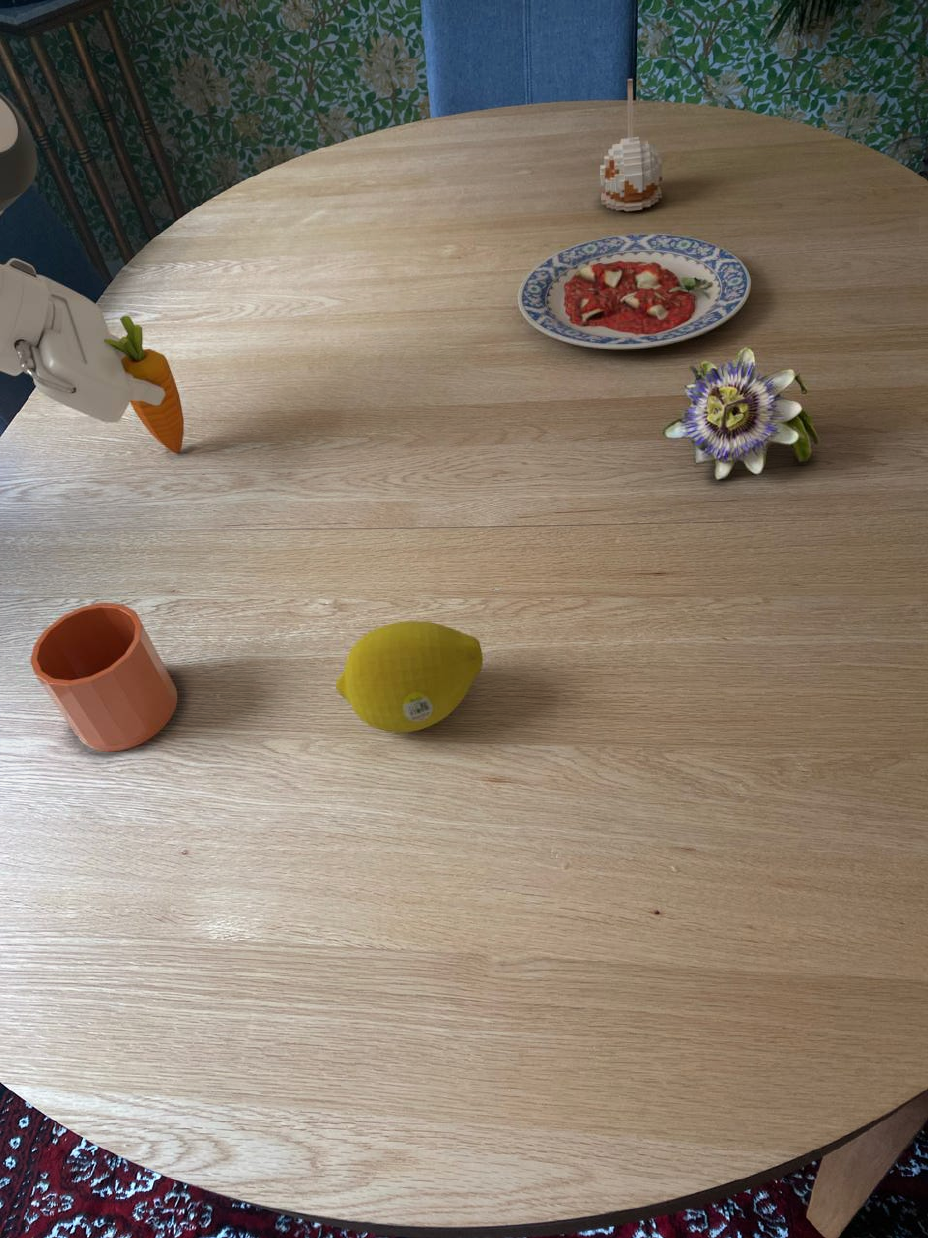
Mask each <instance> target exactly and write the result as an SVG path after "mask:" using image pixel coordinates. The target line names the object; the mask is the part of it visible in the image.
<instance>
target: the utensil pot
mask: <svg viewBox="0 0 928 1238" xmlns="http://www.w3.org/2000/svg"><path fill="white" fill-rule="evenodd" d="M30 656H31V657H30V665H31V667H32V671H33V673H34V676H35V677H36V678H37V680H38V681H39V683H40V684H41V686H42V687H43V689H44V690H45V691H46V693H47V695H48V696H49V698H50V699H51V701H52V702H53V703H54V705H55V706H56V708H57V709H58V711H59V712H60V713H61V715H62V717H63V719H64V720H65V721H66V723H67V724H68V725H69V727H70V728H71V730H72V731H73V733H74V735H75V736H76V737H78V739H79V740H80V742H81V743H83V744H84V746H87V747H89V748H90V749H92V750H95V751H99V752H107V753H109V752H121V751H124V750H125V751H126V750H128V749H132V748H135V747H137V746H139V745H141V744H143V743H145V742H147V741H149V740H151V739H152V738H153V737H154V736H156V735H157V734H158V733H160V732H161V731H162V730H163V729H164V728H165V727H166V725H168V723H169V721H170V720H171V718H172V717H173V715H174V713H175V711H176V707H177V704H178V690H177V688H176V685H175V683H174V682H173V680H172V678H171V676H170V674H169V672H168V670H167V668H166V667H165V664H164V663H163V661H162V659H161V656H160V654H159V653H158V651H157V649H156V647H155V646H154V644H153V642H152V640H151V637H150V636H149V635H148V632H147V631H146V629H145V626H144V624H143V622H142V621H141V619H140V617H139V615H138V613H137V611H135V610H133V609H132V608H130V607H128V606H126V605H124V604H122V603H114V602H113V603H112V602H100V603H94V604H89V605H84V606H81V607H78V608H76V609H74V610H73V611H71V612H68V613H66V614H64V615H62V616H61V617H59V618H58V619H57V620H56V621H54V622H53V623H52V624H50V625H49V626H48V627H46V628H45V629H44V631H43V632H42V633H41V634H40V636H39V637H38V638H37V640H36V642H35V643H34V644H33V648H32V652H31V655H30Z"/></svg>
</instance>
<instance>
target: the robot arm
mask: <svg viewBox="0 0 928 1238" xmlns="http://www.w3.org/2000/svg"><path fill="white" fill-rule="evenodd" d="M37 169H38V153H37V147H36V143H35V140H34V137H33V134H32V132H31V129H30V128H29V126H28V124H27V122H26V121H25V119H24V118H23V116H22V115H21V113H20V111H19V110H18V109H17V108H16V106H15V105H14V104H13V103H12V101H11V100H10V99H9V98H8V97H7V96H6V95H4V94H3V93H2V92H1V91H0V216H1V215H2V214H3V213H4V211H5V210H6V209H8V208H9V207H10V206H11V205H12V204H14V202H15V201H16V200H17V199H18V198H19V197H21V196H22V195H23V194H24V193H25V192H26V191H27V190H28V189H29V188H30V187H31V185H32V184H33V181H34V180H35V177H36V174H37ZM105 339H111V340H115V341H117V342H119V343H120V344H122V343H121V341H120V339H121V338H120V337H119V336H116V335H114V334H112V333H111V332H110V330H109V327H108V323H107V322H106V319H105V317H104V314H103V311H102V309H101V307H100V306H98V304H96V303H95V302H93V301H92V300H90V299H89V298H88V297H87V296H85V295H83V294H80V293H78V292H77V291H75V290H74V289H71V288H69V287H67V286H66V285H63V284H62V283H59V282H58V281H55V280H53V279H51V278H49V277H47V276H45V275H41V274H37V271H36V269H35V268H34V266H33V265H32V264H30V263H28V262H26V261H23V260H21V259H19V258H15V257H12V258H10V259H9V260H8V261H7V262H6V263H5V264H2V263H0V372H2V373H5V374H7V375H10V376H13V377H17V376H19V375H20V374H22V373H24V374H25V375H29V376H30V377H31V378H32V379H33V384H34V385H35V387H36V389H37V390H38V391H39V392H40V393H42V394H43V395H44V396H46V397H48V398H49V399H51V400H53V401H55V402H57V403H59V404H61V405H63V406H65V407H68V408H71V409H72V410H75V411H76V412H80V413H82V414H84V415H87V416H89V417H91V418H94V419H96V420H99V421H101V422H105V423H118V422H120V421H121V420H122V417H124V416H123V415H124V414H125V411H126V410H127V408H128V406H129V404H130V401H144V402H147V403H149V404H152V405H155V406H158V405H159V404H161V402H162V400H163V398H164V396H165V391H164V389H163V387H162V385H161V384H160V383H158V382H154V381H153V380H150V379H148V378H146V380H145V381H144V380H140V379H136V378H133V376H132V375H131V374H128V373H126V372H125V371H124V368H123V366H122V363H121V360H122V358H124V357H125V356H127V355H125V354H124V353H123V352H121V351H120V350H118V349H116V348H115V347H113V346H112V345H110V344H107V343H106V342H105V341H104V340H105ZM122 345H123V344H122ZM123 346H124V345H123Z"/></svg>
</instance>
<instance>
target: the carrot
mask: <svg viewBox="0 0 928 1238" xmlns="http://www.w3.org/2000/svg"><path fill="white" fill-rule="evenodd" d="M119 320H120V322H121V324H122V326H123V328H124V330H125V332H126V335H125V336H121V338H120V341H121V343H122V344H123V345H124V346H123V345H122V344H120V343H119V342H117V341H115V340H111V339H105V340H104V341H105V342H106V343H107V344H110V345H112V346H113V347H115V348H116V349H118V350H120V351H121V352H123V353H124V354H125V355H127V356H125V357H124V358H122V360H121V363H122V366H123V368H124V371H125V372H126V373H128V374H131V375H132V376H133V378H136V379H140V380H144V381H145V380H146V378H148V379H150V380H153V381H154V382H158V383H160V384H161V385H162V387H163V389H164V391H165V396H164V398H163V400H162V402H161V404H159V405H158V406H155V405H152V404H149V403H147V402H144V401H130V402H129V404H130V405H131V407H132V409H133V410H134V412H135V414H136V415H137V417H138V418H139V420H140V421H141V423H142V424H143V426H144V427H145V428H146V429H147V431H148V432H149V433H150V434H151V436H152V437H153V438H154V439H155V440H156V441H158V442H159V443H160V444H161V445H163V447H165V448H166V449H168V450H169V451H170V452H172V453H175V454H179V453H180V452H181V450H182V447H183V439H184V434H185V433H184V432H185V431H184V429H185V427H184V425H185V422H184V421H185V420H184V415H183V414H184V413H183V407H182V403H181V397H180V393H179V390H178V387H177V383H176V381H175V378H174V375H173V371H172V370H171V369H172V368H171V367H170V364H169V361H168V359H167V357H166V356H165V355H164V354H162V353H161V352H158V351H156V350H153V349H151V348H146V349H145V348H143V341H144V340H143V335H144V334H143V327H142V326H141V325H139V324H135V323H134V322H133V320H132V318H131V316H128V315H122V316H121V317H120V318H119Z"/></svg>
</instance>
